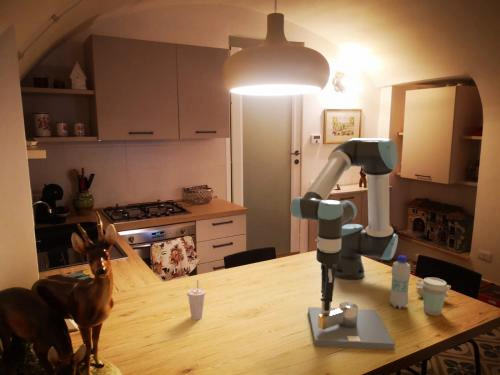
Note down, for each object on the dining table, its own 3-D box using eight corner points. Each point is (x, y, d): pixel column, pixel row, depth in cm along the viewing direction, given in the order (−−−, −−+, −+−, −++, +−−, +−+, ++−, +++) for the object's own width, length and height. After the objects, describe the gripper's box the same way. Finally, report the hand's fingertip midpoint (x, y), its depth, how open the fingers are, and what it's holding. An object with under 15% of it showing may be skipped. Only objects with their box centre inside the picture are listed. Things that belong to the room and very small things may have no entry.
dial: (347, 317, 129) (348, 300, 128) (360, 324, 124) (361, 307, 123) (314, 328, 121) (314, 311, 120) (326, 337, 116) (327, 319, 115)
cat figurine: (417, 277, 156) (449, 276, 148) (422, 291, 157) (454, 291, 149) (413, 288, 150) (445, 288, 142) (418, 303, 151) (451, 304, 143)
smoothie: (200, 323, 128) (200, 284, 126) (184, 319, 130) (183, 281, 128) (208, 314, 134) (208, 277, 132) (193, 311, 136) (192, 275, 134)
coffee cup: (450, 316, 135) (453, 285, 133) (429, 318, 133) (431, 286, 131) (435, 305, 143) (437, 276, 141) (414, 307, 141) (417, 277, 140)
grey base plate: (308, 312, 137) (308, 306, 136) (374, 314, 135) (375, 308, 135) (315, 346, 115) (315, 339, 115) (394, 349, 114) (394, 342, 113)
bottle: (409, 310, 139) (413, 259, 136) (390, 308, 140) (394, 257, 137) (405, 302, 145) (409, 253, 142) (387, 301, 146) (391, 252, 144)
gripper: (314, 242, 125) (312, 308, 129) (319, 255, 112) (316, 327, 116) (337, 243, 124) (334, 308, 128) (344, 256, 112) (340, 328, 116)
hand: (325, 317), depth 122 cm, fingers closed
